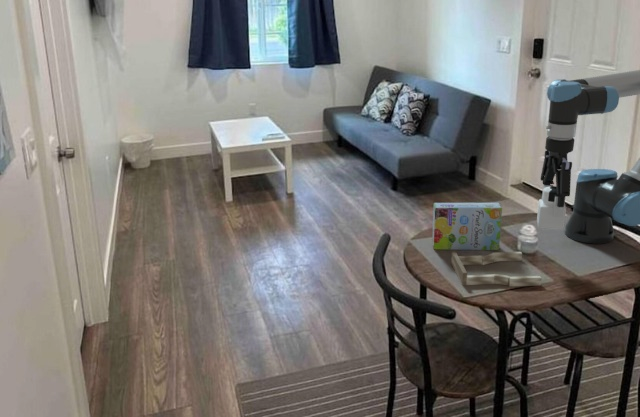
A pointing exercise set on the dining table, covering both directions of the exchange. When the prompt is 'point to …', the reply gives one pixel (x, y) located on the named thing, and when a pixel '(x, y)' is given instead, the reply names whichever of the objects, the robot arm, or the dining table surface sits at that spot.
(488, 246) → the snack box
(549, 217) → the medicine bottle
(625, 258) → the dining table surface
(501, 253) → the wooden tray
